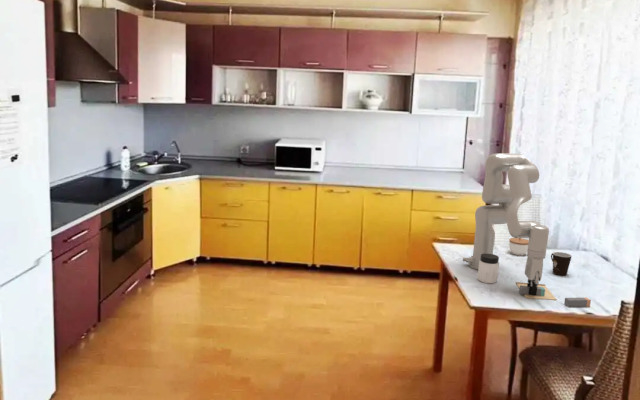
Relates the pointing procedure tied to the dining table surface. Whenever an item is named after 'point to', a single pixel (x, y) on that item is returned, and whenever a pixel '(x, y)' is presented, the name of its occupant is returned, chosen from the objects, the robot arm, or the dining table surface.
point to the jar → (488, 268)
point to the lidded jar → (518, 246)
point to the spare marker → (577, 302)
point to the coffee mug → (560, 263)
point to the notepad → (547, 295)
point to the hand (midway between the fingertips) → (531, 293)
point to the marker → (525, 290)
